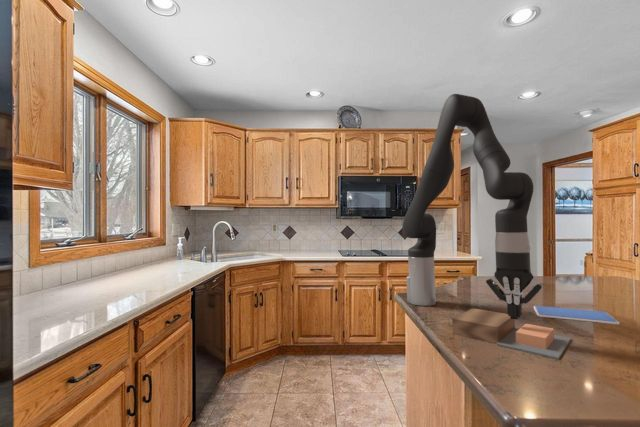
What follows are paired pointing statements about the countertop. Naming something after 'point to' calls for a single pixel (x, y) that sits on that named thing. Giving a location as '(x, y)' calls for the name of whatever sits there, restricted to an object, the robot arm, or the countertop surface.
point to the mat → (552, 351)
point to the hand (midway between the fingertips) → (515, 318)
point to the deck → (483, 325)
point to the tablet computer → (575, 314)
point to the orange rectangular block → (535, 336)
